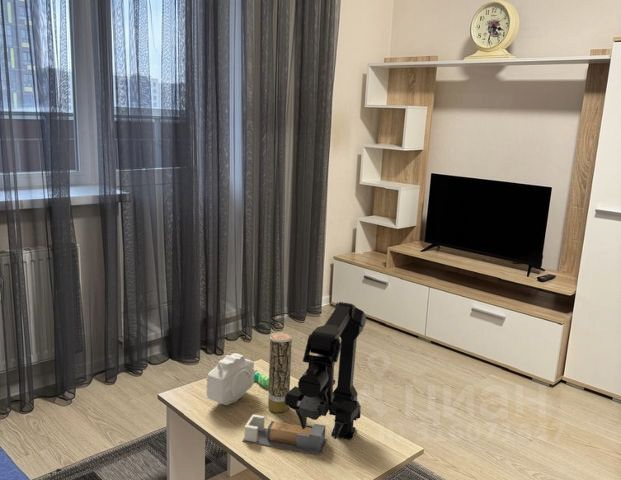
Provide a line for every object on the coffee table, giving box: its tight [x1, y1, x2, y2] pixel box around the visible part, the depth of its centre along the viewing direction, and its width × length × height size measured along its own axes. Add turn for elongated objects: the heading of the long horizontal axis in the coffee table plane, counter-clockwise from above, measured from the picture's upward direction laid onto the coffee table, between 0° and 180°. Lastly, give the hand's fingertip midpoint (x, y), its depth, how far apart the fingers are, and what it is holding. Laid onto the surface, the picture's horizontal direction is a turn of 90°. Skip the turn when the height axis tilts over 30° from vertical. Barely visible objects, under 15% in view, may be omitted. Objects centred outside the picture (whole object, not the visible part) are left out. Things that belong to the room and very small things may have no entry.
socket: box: [243, 413, 265, 442], centre depth 175 cm, size 7×4×4 cm, turn 167°
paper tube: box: [267, 332, 293, 414], centre depth 189 cm, size 7×7×25 cm
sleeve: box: [297, 423, 326, 452], centre depth 171 cm, size 6×7×5 cm
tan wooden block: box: [267, 420, 312, 445], centre depth 172 cm, size 4×15×4 cm, turn 77°
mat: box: [242, 427, 327, 457], centre depth 173 cm, size 8×24×1 cm, turn 77°
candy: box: [254, 370, 269, 389], centre depth 206 cm, size 12×3×4 cm
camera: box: [206, 353, 256, 406], centre depth 193 cm, size 11×18×16 cm, turn 148°
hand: (319, 433), depth 153 cm, fingers open, 9 cm apart
